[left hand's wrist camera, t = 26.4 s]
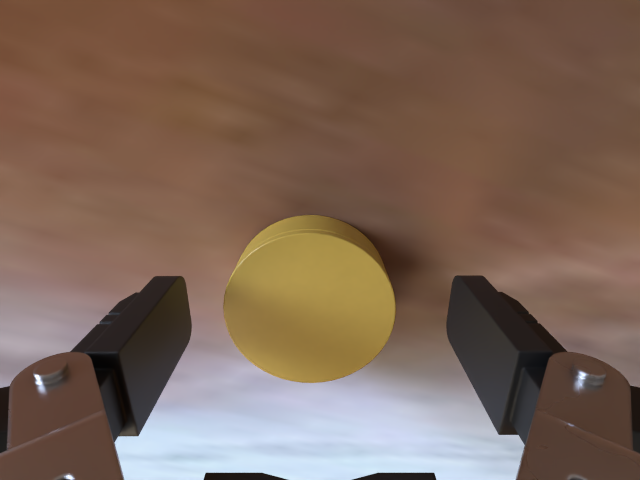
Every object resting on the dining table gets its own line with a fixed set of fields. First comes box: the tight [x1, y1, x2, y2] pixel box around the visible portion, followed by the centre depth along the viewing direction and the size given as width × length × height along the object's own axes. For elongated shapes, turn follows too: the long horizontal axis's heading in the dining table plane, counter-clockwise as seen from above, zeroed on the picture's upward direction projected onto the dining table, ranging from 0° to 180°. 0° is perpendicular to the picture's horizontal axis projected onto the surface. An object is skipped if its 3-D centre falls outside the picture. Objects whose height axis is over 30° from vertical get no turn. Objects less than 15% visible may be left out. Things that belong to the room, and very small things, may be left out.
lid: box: [223, 215, 396, 383], centre depth 12 cm, size 5×5×2 cm
